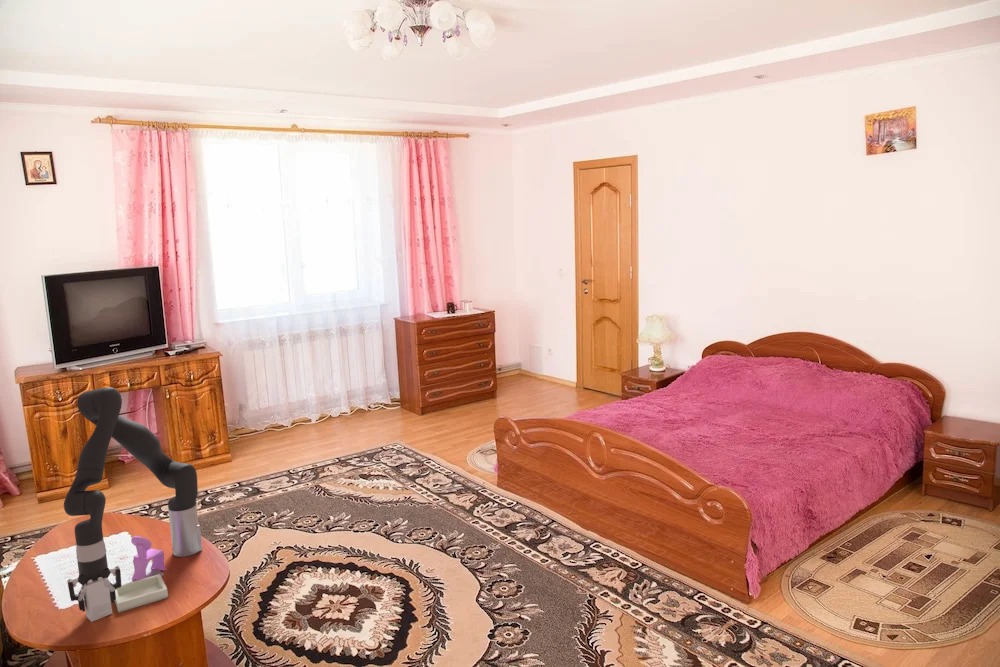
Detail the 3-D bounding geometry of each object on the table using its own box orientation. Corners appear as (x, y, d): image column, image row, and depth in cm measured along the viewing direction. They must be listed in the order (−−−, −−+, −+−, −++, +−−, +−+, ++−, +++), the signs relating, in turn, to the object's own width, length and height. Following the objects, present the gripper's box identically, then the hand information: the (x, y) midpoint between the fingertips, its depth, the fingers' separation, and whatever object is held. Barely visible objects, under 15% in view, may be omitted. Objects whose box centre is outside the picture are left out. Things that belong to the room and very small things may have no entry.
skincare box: (107, 609, 216) (102, 572, 214) (113, 614, 213) (108, 577, 211) (85, 618, 211) (80, 580, 209) (91, 623, 208) (86, 585, 206)
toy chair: (169, 569, 240) (164, 528, 237) (148, 582, 231) (144, 540, 229) (150, 566, 242) (145, 525, 240) (129, 578, 234) (124, 536, 232)
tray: (160, 582, 231) (159, 573, 231) (168, 597, 221) (167, 588, 221) (113, 596, 223) (112, 587, 223) (118, 612, 213) (117, 603, 213)
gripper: (116, 543, 216) (122, 593, 218) (62, 557, 208) (69, 608, 210) (120, 552, 210) (126, 603, 212) (64, 567, 201) (71, 620, 204)
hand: (98, 606), depth 211 cm, fingers open, 7 cm apart
